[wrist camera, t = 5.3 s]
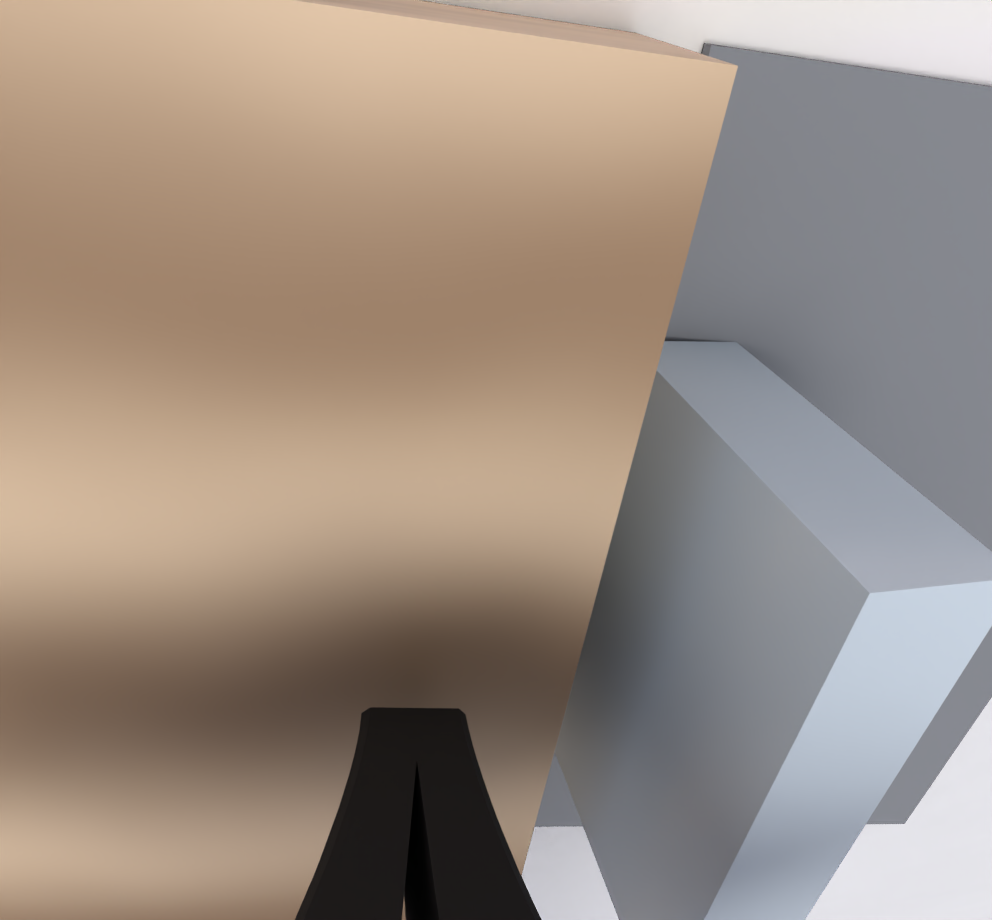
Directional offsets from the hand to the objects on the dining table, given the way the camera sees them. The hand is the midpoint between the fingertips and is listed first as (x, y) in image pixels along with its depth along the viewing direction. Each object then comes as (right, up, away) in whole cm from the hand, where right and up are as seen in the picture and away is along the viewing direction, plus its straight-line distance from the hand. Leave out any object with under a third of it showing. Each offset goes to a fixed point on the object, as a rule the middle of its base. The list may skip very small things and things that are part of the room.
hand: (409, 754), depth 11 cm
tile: (+4, +1, +2) cm, 4 cm away
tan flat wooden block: (-4, +3, +4) cm, 6 cm away
